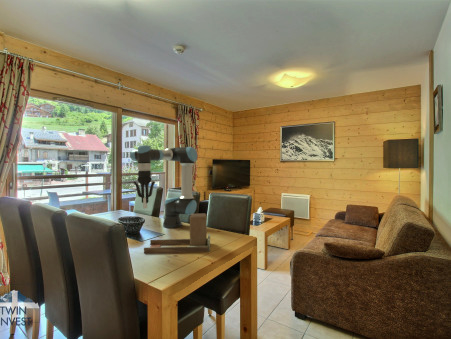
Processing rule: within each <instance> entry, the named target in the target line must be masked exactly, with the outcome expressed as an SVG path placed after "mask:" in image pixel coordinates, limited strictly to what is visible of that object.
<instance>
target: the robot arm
mask: <svg viewBox="0 0 451 339" xmlns="http://www.w3.org/2000/svg"><path fill="white" fill-rule="evenodd" d="M197 152H198V151H197V150H196V148H195V147H193V146H182V147H180V146H178V147H171V148H166V149H158V148H157V149H155V148H154V149H153V148H151V146H150V145H144V144H143V145H138V146H137V149H133V150H132V151H131V152H130V154H129V155H130V157H129V158H130V159H131V160H132V161H134V162H135V161H136V162H137V170H138V171H137V180H135V181H134V182H133V184H134V186H135V188H136V193H137V196H138V197H139V198H141V204H142V205H143V209H147V208H148V203H149V202H150V201H149V198H150V197H152V196H153V190H154V186H155V184H156V181H155V180H153V179H152V171H151V170H152V169H151V168H152V167H151V162H153V161H154V162H155V161H157V162H158V161H162V160H163V161H164V160H165V161H171V162H179V164H180V166H181V181H180V182H181V186H180V187H181V189H180V190H181V192H180V193H181V194H180V196H179V197H178V196H176V197H169V198H166V199H165V200H164V219H163V224H162V227H163V228H167V229H175V228H179V227H180V228H181V226H182V225H183V223H182V220H181V216H180V215H188V216H191V214H195V212H196V210H197V207H198V206H197V205H198V203H197V201H196V200H195V197H194V196H193V166H194V165H195V162H196V161H197V160H198V153H197ZM149 185H150V189H149Z"/></svg>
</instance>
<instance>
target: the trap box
mask: <svg viewBox="0 0 451 339" xmlns="http://www.w3.org/2000/svg"><path fill="white" fill-rule="evenodd" d="M149 242H150V244H149V245H150V246H149V247H144V248H143V254H166V253H167V254H170V253H171V254H172V253H173V254H174V253H209V252H210V251H211V233H208V234H207V246H190V238H174V239H172V238H171V239H150V240H149ZM162 245H166V246H164V247H163V246H162ZM167 245H168V246H167ZM169 245H187V246H169Z"/></svg>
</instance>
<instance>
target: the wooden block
mask: <svg viewBox="0 0 451 339" xmlns="http://www.w3.org/2000/svg"><path fill="white" fill-rule="evenodd" d="M207 222H208V221H207V214H206V213H203V212H202V213H193V214H191V215H189V239H190V244H189V246H208V244H207V238H208V234H207V232H208V231H207V229H208V228H207V225H208V224H207Z"/></svg>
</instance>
